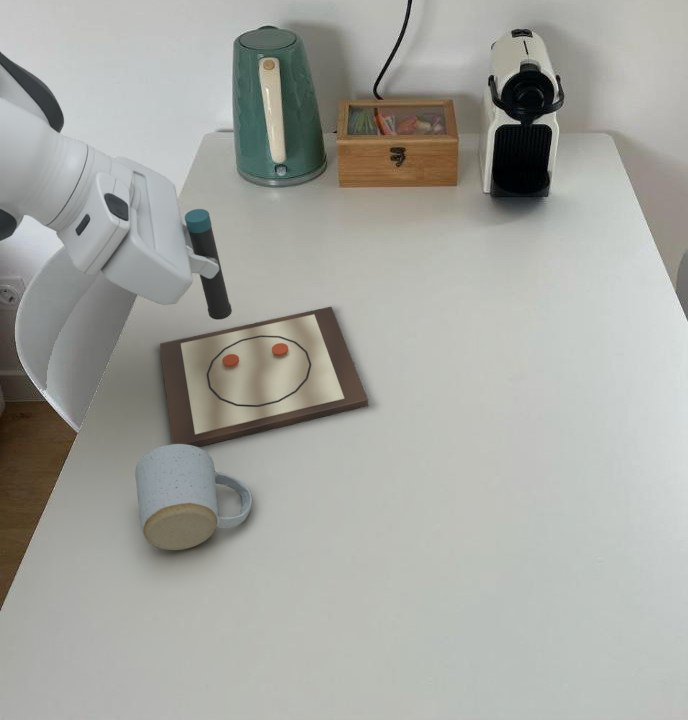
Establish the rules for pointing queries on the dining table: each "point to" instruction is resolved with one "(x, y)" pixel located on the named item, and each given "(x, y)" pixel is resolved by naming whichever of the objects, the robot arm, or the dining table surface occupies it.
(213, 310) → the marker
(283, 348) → the right eye
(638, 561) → the dining table surface
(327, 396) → the brown framed board
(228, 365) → the left eye
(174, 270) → the robot arm
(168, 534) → the ceramic mug
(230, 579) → the dining table surface
